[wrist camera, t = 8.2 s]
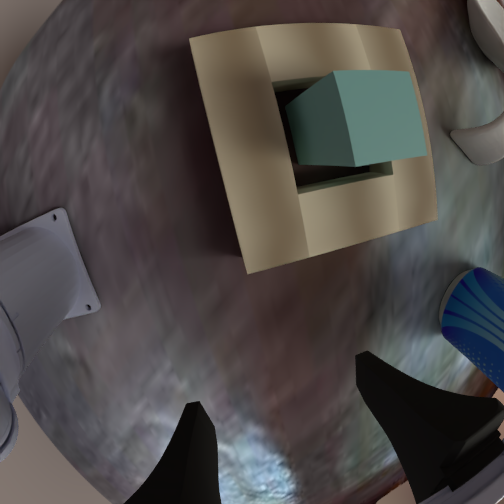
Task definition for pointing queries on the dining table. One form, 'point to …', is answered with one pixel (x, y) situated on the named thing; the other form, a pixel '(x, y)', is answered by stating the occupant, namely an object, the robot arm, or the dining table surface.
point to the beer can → (476, 320)
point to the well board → (276, 150)
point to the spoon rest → (500, 53)
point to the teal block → (357, 119)
